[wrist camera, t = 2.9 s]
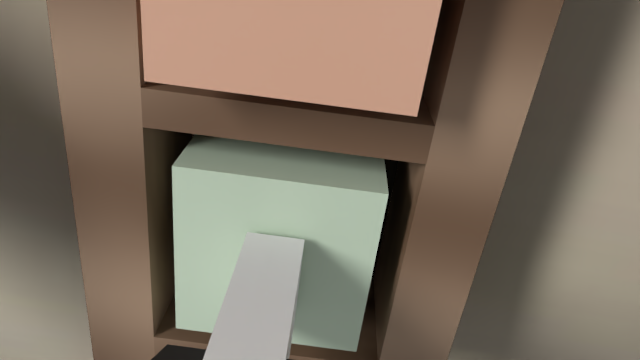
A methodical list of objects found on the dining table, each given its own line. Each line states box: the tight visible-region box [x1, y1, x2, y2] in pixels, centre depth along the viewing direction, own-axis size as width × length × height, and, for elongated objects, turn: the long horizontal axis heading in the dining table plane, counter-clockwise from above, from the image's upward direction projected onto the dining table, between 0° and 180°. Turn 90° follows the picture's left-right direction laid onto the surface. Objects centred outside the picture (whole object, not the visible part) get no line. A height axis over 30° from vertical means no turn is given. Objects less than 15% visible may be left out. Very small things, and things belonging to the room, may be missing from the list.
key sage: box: [172, 134, 389, 352], centre depth 15 cm, size 5×5×4 cm
